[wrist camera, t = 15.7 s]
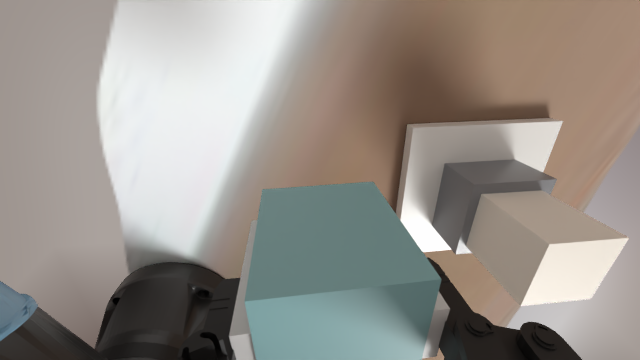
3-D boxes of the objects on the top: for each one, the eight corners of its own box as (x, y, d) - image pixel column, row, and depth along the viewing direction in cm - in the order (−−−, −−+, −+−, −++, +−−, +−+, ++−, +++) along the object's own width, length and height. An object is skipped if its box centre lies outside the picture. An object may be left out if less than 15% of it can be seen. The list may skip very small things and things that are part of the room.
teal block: (273, 274, 16) (266, 410, 10) (262, 189, 14) (244, 301, 8) (366, 264, 17) (414, 387, 11) (373, 181, 14) (441, 279, 8)
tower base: (391, 246, 34) (412, 286, 28) (407, 124, 27) (439, 143, 21) (506, 236, 35) (549, 272, 30) (550, 117, 28) (617, 134, 23)
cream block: (465, 246, 26) (520, 306, 20) (481, 194, 24) (549, 244, 18) (521, 241, 27) (590, 298, 21) (541, 190, 24) (629, 237, 18)
